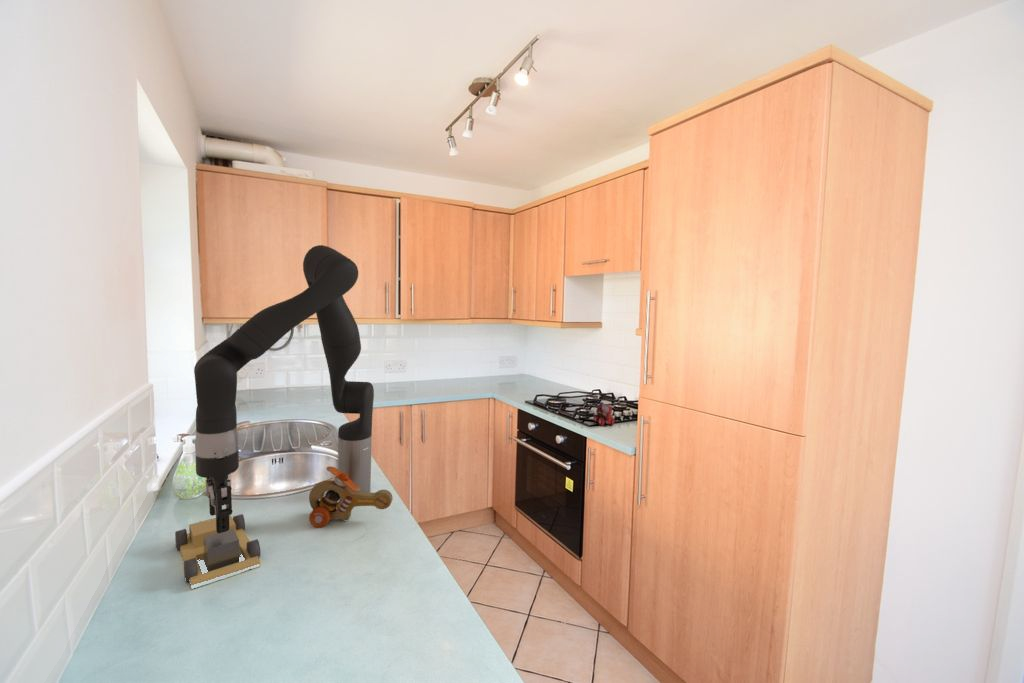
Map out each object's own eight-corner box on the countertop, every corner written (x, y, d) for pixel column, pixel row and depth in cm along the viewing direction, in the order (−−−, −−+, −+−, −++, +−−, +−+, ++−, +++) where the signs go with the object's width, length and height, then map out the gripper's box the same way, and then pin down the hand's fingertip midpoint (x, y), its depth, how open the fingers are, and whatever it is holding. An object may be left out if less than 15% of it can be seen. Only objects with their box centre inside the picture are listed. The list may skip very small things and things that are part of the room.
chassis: (174, 543, 101) (174, 524, 101) (240, 525, 110) (240, 507, 109) (188, 591, 86) (187, 569, 85) (262, 566, 95) (262, 546, 94)
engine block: (204, 561, 95) (203, 536, 94) (233, 552, 98) (233, 528, 98) (208, 574, 91) (207, 548, 90) (239, 564, 94) (238, 539, 94)
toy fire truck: (603, 420, 224) (604, 399, 223) (615, 427, 212) (617, 406, 211) (591, 420, 222) (592, 400, 221) (602, 427, 210) (604, 406, 209)
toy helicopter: (315, 512, 118) (315, 462, 117) (394, 512, 120) (395, 464, 119) (303, 528, 110) (304, 475, 109) (388, 528, 112) (390, 476, 111)
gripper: (191, 442, 95) (193, 513, 97) (200, 465, 84) (202, 544, 86) (231, 436, 100) (233, 504, 102) (245, 456, 89) (246, 531, 91)
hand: (219, 522), depth 94 cm, fingers open, 8 cm apart
